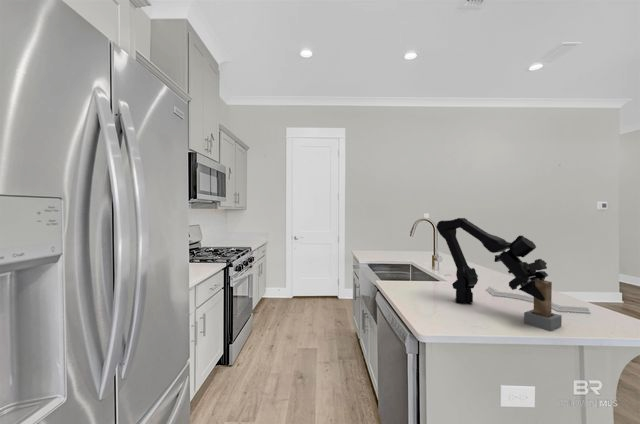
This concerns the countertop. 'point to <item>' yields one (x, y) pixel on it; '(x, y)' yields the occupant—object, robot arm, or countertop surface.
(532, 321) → the end cap
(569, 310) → the molding
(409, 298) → the countertop surface
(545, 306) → the tall wooden block
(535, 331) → the countertop surface
